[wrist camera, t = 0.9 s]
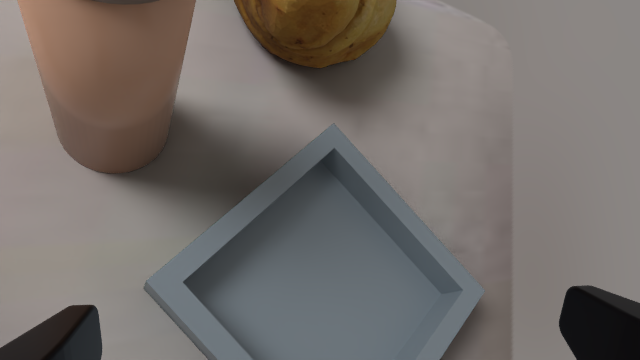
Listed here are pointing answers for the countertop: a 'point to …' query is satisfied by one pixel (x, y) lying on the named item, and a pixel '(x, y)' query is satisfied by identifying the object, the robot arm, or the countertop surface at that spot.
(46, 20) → the jar
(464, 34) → the countertop surface
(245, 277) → the tray
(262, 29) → the bread roll
